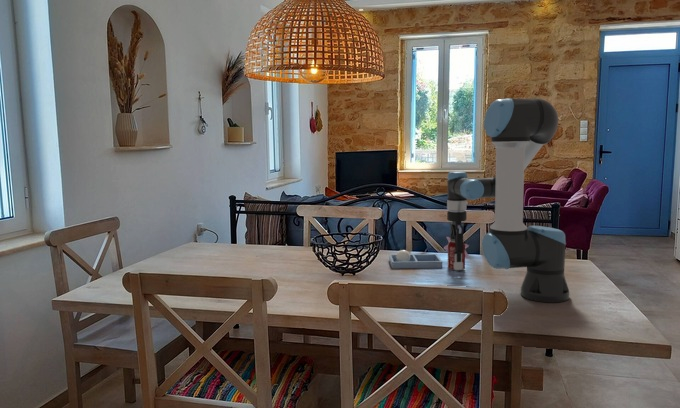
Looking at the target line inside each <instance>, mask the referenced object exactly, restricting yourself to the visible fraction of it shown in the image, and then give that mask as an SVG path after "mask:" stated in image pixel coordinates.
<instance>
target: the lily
mask: <svg viewBox="0 0 680 408" xmlns="http://www.w3.org/2000/svg"><path fill="white" fill-rule="evenodd" d="M446 239H447V241H448V243H449V242H450V237H449V236H446ZM464 244H465V259H469V254H468V252H467V250H466V249H467V248H469V244H467V243H464ZM443 249H444V250H445V251H448V244H446V245H445V246H444V247H443Z"/></svg>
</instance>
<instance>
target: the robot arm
mask: <svg viewBox="0 0 680 408" xmlns="http://www.w3.org/2000/svg"><path fill="white" fill-rule="evenodd" d="M488 106H489V107H488V108H487V109H486V112H485V114H484V115H485V116H484V121H483V122H484V123H483V128H484V132H485V135H487V136H488V137H489V138H491V144H492V145H493V146H494V147H495V175H494V177H485V178H484V177H483V178H481V177H479V178H478V177H477V178H476V177H475V178H468V174H467V172H466V171H449V172H448V173H447V181H446V183H447V186H446V187H447V190H446V191H447V200H446V201H447V202H446V209H447V210H448V211H447V213H446V220H447V221H448V222H450V223H449V227H450V231H449V232H450V235H449V236H450V237H449V238H450V240H451V239H455V252H454V254H455V270H454V271H457V270H462V253H463V252H464V251H463V242H464V241H463V240H464V226H463V225H462V222H465V221H467V218H468V217H467V213H468V212H467V205H468V204H469V202H468V201H467V200H469V201H470V200H472V201H475V200H479V199H487V198H491V199H492V198H493V199H494V198H495V199H494V222H493V223H492V224H491V225H490V226H489V232H487V233H485V234H484V235H483V238H482V239H481V245H482V247H481V249H482V254H483V256H484V258H485V259H486V260H485V261H486V262H487V264H488V265H489V266H490V267H492V268H494V269H496V270H501V269H502V270H509V269H517V268H518V269H519V268H526V273H525V276H524V277H523V281H522V282H521V283H522V284H521V286H520V296H521V297H522V298H525V299H527V300H529V301H530V300H531V301H535V302H539V303H540V302H542V303H563V302H566V301H568V300H569V299H570V289H569V286H568V283H567V279H566V276H565V262H566V261H565V260H566V245H567V242H566V233H565V232H564V231H563V230H561V229H558V228H554V227H548V226H542V225H529V226H528V227H527V225H525V223H524V192H525V191H524V189H525V188H524V184H525V170H526V169H527V167H528V166H529V165H530V163H531V162H532V160H534V158H535V156H537V154H538V152H539V151H541V149H542V147H543V146H544V145H547V144H548V143H550V142H551V140H552V139H553V137H554V136H555V134H556V132H557V129H558V127H559V115H558V112H557V110H556V108H555V107H554V106H553V105H552V103H551V102H549V101H548V100H545V99H542V98H509V97H508V98H501V99H495V100H494V101H493V102H491V103H490V105H488ZM462 271H463V270H462Z"/></svg>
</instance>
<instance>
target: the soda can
mask: <svg viewBox="0 0 680 408" xmlns="http://www.w3.org/2000/svg"><path fill="white" fill-rule="evenodd" d="M465 244H466V243H465V242H464V239H463V251H464V252H463V253H462V270H455V254H454V252H455V239H451V240H450V242H448V244H447V245H448V250H447V269H448V270H451V271H457V272H462V271H463V270H465V269H466V258H465V250H466V249H465Z"/></svg>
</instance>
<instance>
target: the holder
mask: <svg viewBox="0 0 680 408" xmlns="http://www.w3.org/2000/svg"><path fill="white" fill-rule="evenodd" d="M396 255H397V254H389V256H388V259H389V263H390V266H391V269H441V268H443V260H442V259H441V258H440V256H439V254H437V253H431V254H430V253H425V254H424V253H423V254H417V253H415V254H410V257H411V258H410V261H409V262H398V261H397V259H396Z"/></svg>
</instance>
